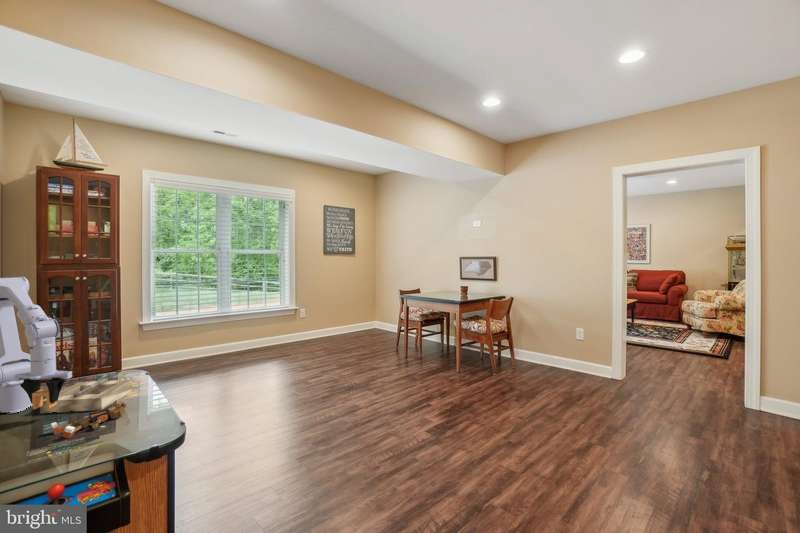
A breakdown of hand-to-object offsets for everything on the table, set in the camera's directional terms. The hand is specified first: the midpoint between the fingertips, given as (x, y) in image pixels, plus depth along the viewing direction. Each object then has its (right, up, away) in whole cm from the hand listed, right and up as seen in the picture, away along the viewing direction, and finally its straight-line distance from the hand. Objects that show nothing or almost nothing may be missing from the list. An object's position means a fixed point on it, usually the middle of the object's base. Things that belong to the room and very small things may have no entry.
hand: (44, 402), depth 116 cm
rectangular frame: (+2, -5, +15) cm, 15 cm away
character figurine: (+18, -6, -3) cm, 19 cm away
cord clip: (0, -2, 0) cm, 2 cm away
